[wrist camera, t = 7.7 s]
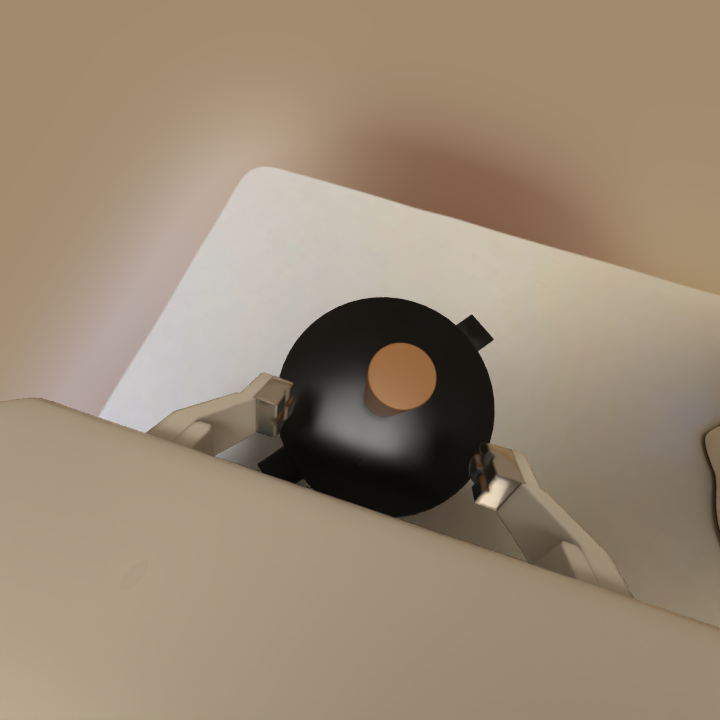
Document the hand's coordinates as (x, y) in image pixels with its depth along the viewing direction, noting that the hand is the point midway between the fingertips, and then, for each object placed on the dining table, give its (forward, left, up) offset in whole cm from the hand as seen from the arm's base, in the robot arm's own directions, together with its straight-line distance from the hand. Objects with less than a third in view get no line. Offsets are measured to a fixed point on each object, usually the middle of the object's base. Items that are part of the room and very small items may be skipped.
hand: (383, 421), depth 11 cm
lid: (-1, -1, -5) cm, 6 cm away
